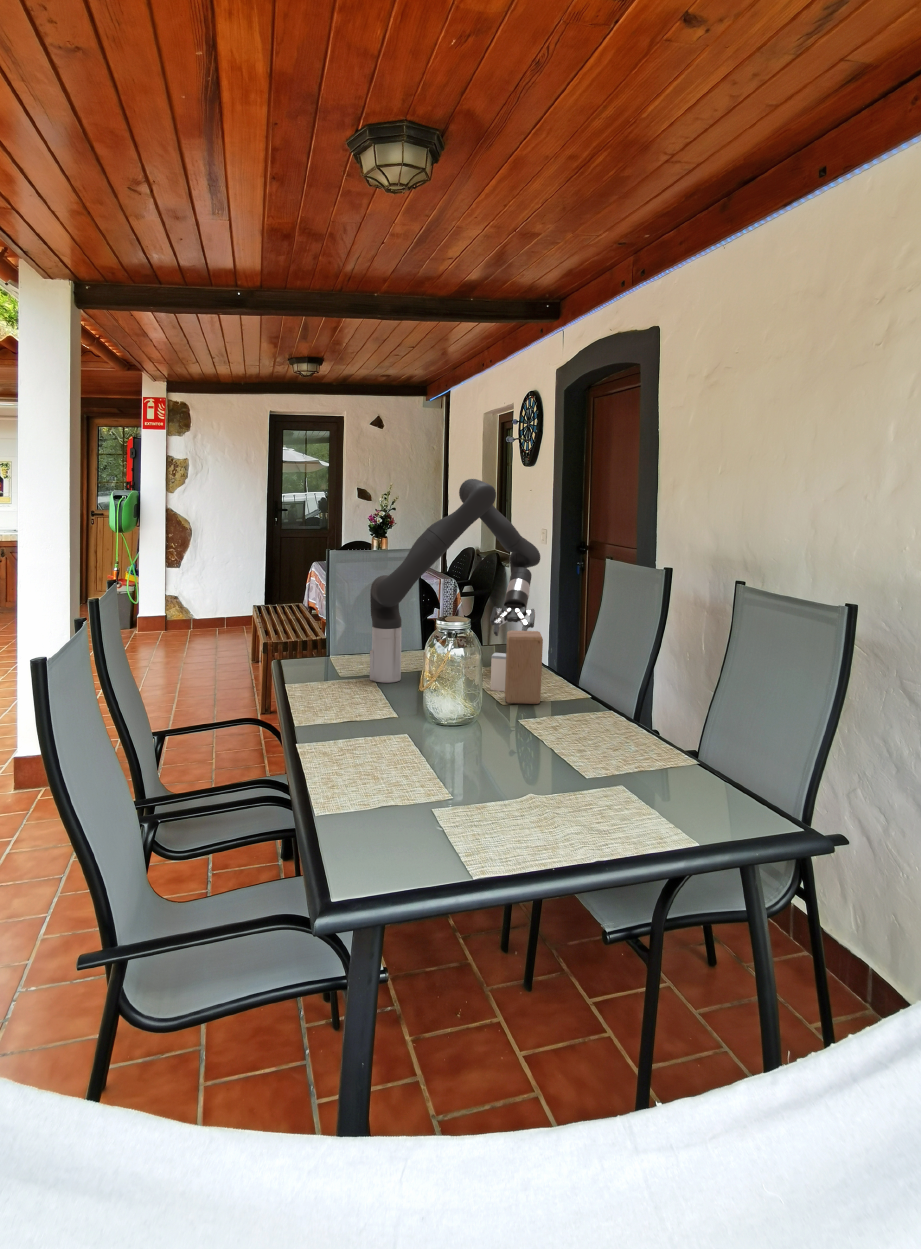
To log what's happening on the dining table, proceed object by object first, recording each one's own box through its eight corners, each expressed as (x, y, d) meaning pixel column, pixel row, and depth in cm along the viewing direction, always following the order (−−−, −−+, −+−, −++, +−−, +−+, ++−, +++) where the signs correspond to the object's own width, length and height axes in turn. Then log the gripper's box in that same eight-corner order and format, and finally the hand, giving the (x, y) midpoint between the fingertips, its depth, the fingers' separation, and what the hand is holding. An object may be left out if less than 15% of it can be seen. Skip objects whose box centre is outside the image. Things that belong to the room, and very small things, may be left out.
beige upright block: (490, 690, 250) (491, 655, 248) (494, 686, 255) (495, 652, 253) (506, 691, 249) (507, 656, 247) (509, 687, 254) (510, 653, 252)
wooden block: (540, 705, 234) (543, 636, 231) (505, 704, 234) (508, 635, 231) (538, 696, 244) (540, 630, 241) (504, 695, 244) (506, 629, 241)
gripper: (494, 587, 268) (486, 627, 259) (537, 589, 265) (530, 630, 256) (497, 601, 274) (489, 640, 265) (539, 603, 271) (532, 643, 262)
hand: (509, 635), depth 260 cm, fingers open, 8 cm apart
